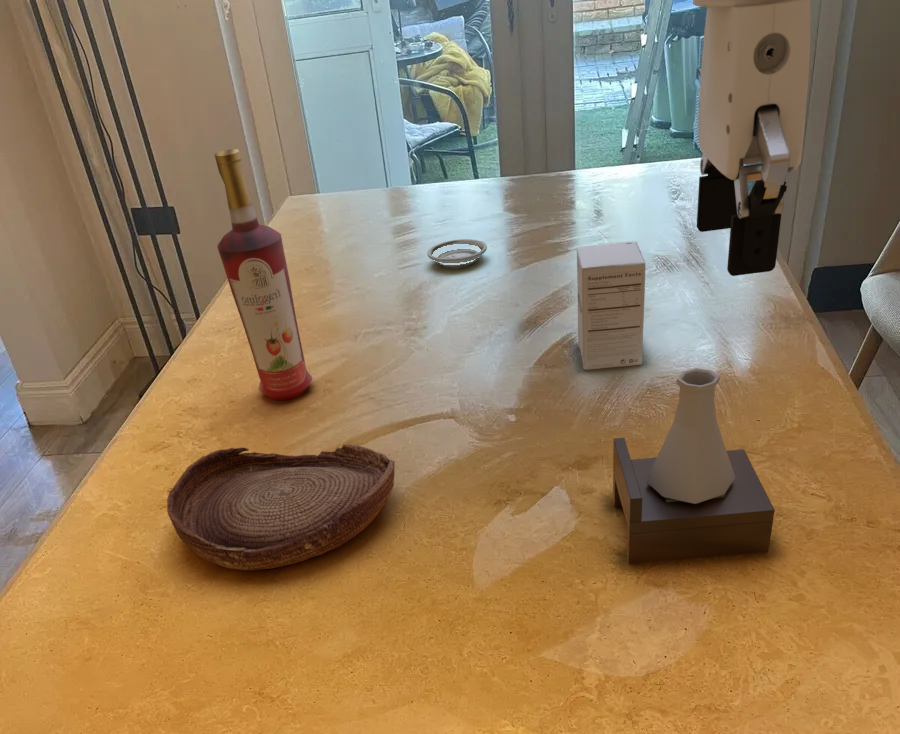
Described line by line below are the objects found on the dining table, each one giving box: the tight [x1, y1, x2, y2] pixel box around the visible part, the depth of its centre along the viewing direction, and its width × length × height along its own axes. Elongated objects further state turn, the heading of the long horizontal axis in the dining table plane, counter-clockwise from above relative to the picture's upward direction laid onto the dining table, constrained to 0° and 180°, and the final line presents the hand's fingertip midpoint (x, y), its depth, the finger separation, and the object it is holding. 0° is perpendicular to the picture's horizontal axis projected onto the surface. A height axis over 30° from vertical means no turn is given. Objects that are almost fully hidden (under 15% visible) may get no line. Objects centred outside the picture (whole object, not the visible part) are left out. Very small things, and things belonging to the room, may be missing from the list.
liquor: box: [214, 148, 313, 401], centre depth 100 cm, size 7×7×28 cm
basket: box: [166, 444, 396, 571], centre depth 84 cm, size 22×20×5 cm
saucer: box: [426, 238, 488, 270], centre depth 137 cm, size 10×10×2 cm
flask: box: [646, 367, 735, 504], centre depth 71 cm, size 7×7×10 cm
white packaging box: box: [576, 240, 646, 371], centre depth 102 cm, size 7×7×13 cm
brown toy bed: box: [612, 437, 776, 565], centre depth 75 cm, size 12×10×7 cm
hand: (733, 249), depth 64 cm, fingers open, 9 cm apart
